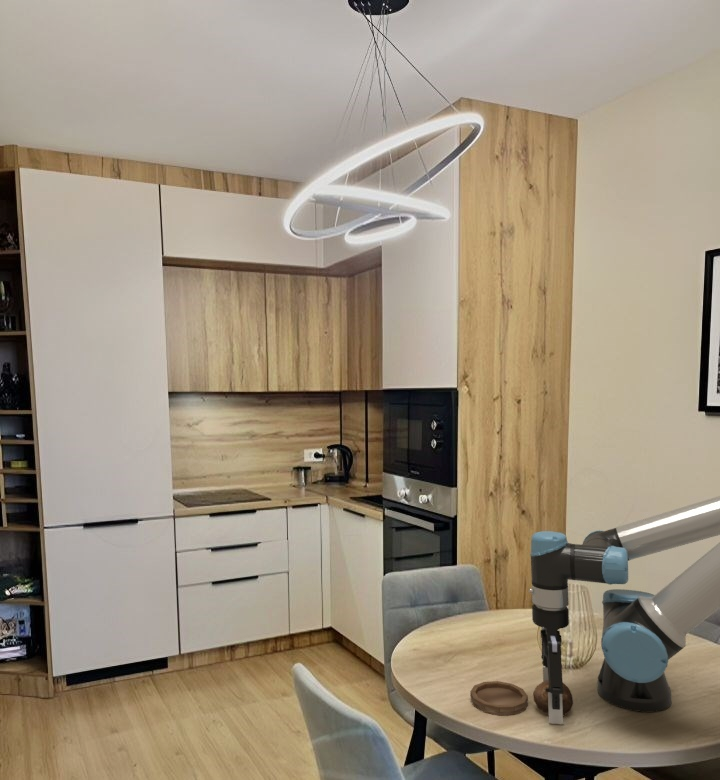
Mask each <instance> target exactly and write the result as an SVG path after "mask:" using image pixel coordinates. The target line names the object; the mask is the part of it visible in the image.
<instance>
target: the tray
mask: <svg viewBox="0 0 720 780" xmlns="http://www.w3.org/2000/svg"><path fill="white" fill-rule="evenodd" d="M469 694H470V698H471V699H470V700H471V704H472V705H473V706H474V707H475V708H476V709H478V710H479V711H481V712H483V713H485V714H486V713H487V714H490V715H492V716H493V715H494V716H501V717H502V716H504V717H505V716H507V717H508V716H515V715H518V714H521V713H522V712H523V713H524V711H526V709H527V707H528V701H529V697H528V694H527V693H526V691H525V690H524V688H522V687H520V686H517V685H516V684H513V683H510V682H505V681H498V680H495V681H494V680H493V681H492V680H491V681H483V682H480V683H477V684H475V685H473V687H472V688H471V690H470V693H469Z"/></svg>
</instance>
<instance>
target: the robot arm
mask: <svg viewBox="0 0 720 780" xmlns="http://www.w3.org/2000/svg"><path fill="white" fill-rule="evenodd" d="M717 536H720V495H718V496H715V497H712V498H709V499H705V500H702V501H699V502H696V503H692V504H689V505H686V506H683V507H679V508H676V509H673V510H669V511H666V512H663V513H659V514H656V515H653V516H650V517H646V518H643V519H640V520H637V521H633V522H630V523H627V524H623V525H621V526H617V527H614V528H610V529H607V530H600V529H599V530H594V531H591V532H590V533H588V534H587V536H585V537H584V540H583V541H582V544H577V543H570V542H568V539H567V535H566V534H564V533H563V532H559V531H558V532H557V531H556V532H555V531H554V530H553V531H552V530H548V531H547V530H544V531H543V530H541V531H538V532H534V533H533V534H532V536H531V538H530V555H529V556H530V571H531V574H530V575H531V588H529V589H528V593H529V594H532V595H531V601H532V603H533V604H532V607H531V612H532V613H531V614H532V616H531V617H532V618H531V619H532V622H533V624H535V625H536V626H538V627H540V628H541V629H540V638H541V640H540V642H541V656H540V657H541V660H542V662H541V663H542V682H545V681H548V680H549V688H548V689H545V691H546V692H548V710H549V715H548V724H553V725H564V717H563V716H564V715H563V707H562V694H563V692H564V690H563V683H564V682H563V668H562V667H563V665H562V642H563V641H562V635H561V631H560V629H564V628H567V627H568V626H569V624H570V613H569V612H570V611H569V610H570V609H569V608H568V606H569V603H570V601H569V584H568V583H569V582H568V581H579V582H588V583H597V584H598V583H599V584H606V585H610V586H611V585H625V584H628V582H629V561H632V560H636V559H640V558H642V557H646V556H648V555H653V554H657V553H660V552H663V551H668V550H671V549H674V548H675V549H676V548H678V547H682V546H685V545H688V544H693V543H696V542H699V541H703V540H706V539H711V538H713V537H717ZM601 604H602V606H603V607H602V609H603V611H602V612H603V624H602V625H603V626H602V632H601V633H602V634H601V638H600V639H601V641H600V643H601V651H602V653H603V657H604V658H603V661H602V665H601V667H600V670H599V673H598V677H597V684H596V685H597V687H596V688H597V692H598V696H600V697H601V698H602V699H603V700H605V701H606V702H607V703H609V704H612V705H613V706H616V707H619V708H622V709H625V710H629V711H635V712H643V713H645V712H646V713H647V712H649V713H653V712H660V711H664V710H666V709H668V708H669V707H670V706H672V691H671V687H670V686H669V685H670V684H669V683H668V680H667V679H668V678H667V676H666V674H665V671H666V668H667V667H668V663H669V660H670V659H672V658H673V657H674V656H676V655H677V654H678V653H679V652H680V651H682V650H683V649H684V648H686V646H687V645H686V642H687V639H686V638H687V634H689V633H690V632H691V631H693V630H694V629H695V628H696V627H697V626H699V625H700V624H702V623H703V622H704V621H705V620H706V619H708V618H709V617H710V616H712V615H713V614H714V613H715V612H717V611H718V610H719V609H720V542H718V543H717V544H715V545H714V546H713V547H711V549H710V550H708V551H707V552H706V553H704V554H703V555H702V556H700V558H699V559H697V560H696V561H695V562H693V564H691V565H690V566H689V567H688V568H687V569H685V570H684V571H683V572H682V573H680V574H679V575H678V576H676V577H675V578H674V579H673V580H671V582H669V583H668V584H667V585H665V586H664V587H663V588H662V589H661V590H660V591H657V593H656V594H653V593H651V592H646V591H641V590H635V589H624V588H623V589H608V590H605V591H604V592H603V595H602V601H601Z"/></svg>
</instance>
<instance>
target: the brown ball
mask: <svg viewBox="0 0 720 780" xmlns="http://www.w3.org/2000/svg"><path fill="white" fill-rule="evenodd" d="M548 688H549V680H548V681H545V682H543V681H542V682H540V683H539V684H538V685H536V686H535V688H534V691H533V695H532V696H533V701H534V704H535V705H536V707H537V709H539V710H540V711H541V713H543V714H545V715H547V716H549V710H548V692H546V691H545V689H548ZM563 690H564V692H563V694H562V707H563V716H566V715H567V714H568V713H570V711H572V707H573V705H574V700H573V699H574V698H573V694H572V692H571V690H570V688H569V687H568V686H567V685H566V684H565V683H564V682H563Z"/></svg>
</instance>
